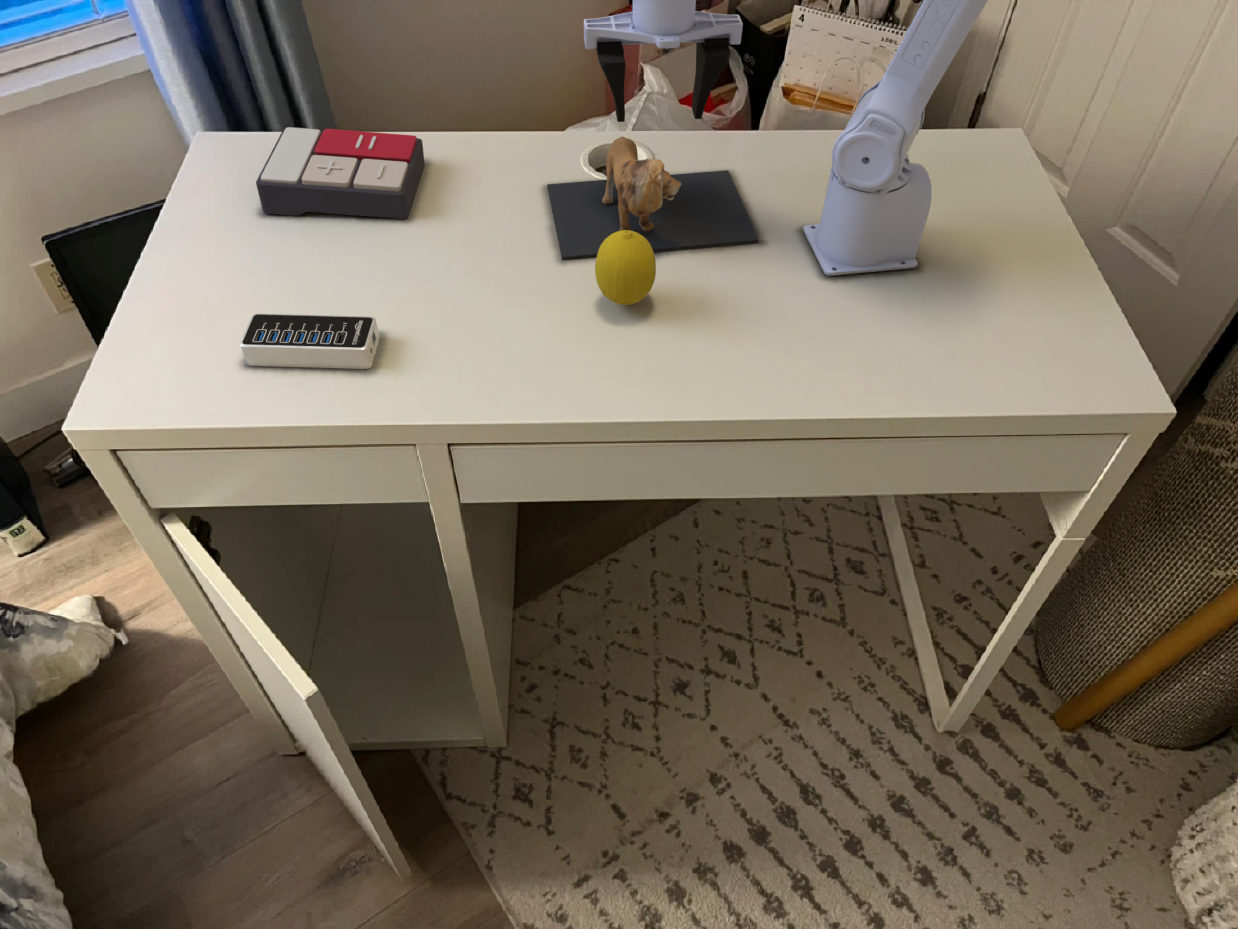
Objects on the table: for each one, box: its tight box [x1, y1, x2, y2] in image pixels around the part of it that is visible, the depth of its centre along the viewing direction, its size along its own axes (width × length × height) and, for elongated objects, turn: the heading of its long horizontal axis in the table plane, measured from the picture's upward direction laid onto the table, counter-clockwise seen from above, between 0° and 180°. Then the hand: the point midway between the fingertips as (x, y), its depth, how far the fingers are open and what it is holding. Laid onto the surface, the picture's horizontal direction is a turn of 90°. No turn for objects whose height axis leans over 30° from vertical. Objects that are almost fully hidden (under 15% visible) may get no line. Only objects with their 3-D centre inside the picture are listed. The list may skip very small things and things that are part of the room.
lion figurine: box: [602, 136, 681, 231], centre depth 94 cm, size 15×5×9 cm, turn 22°
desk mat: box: [546, 169, 760, 261], centre depth 98 cm, size 20×13×1 cm, turn 99°
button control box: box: [255, 126, 425, 220], centre depth 99 cm, size 11×4×15 cm
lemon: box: [594, 230, 657, 306], centre depth 86 cm, size 6×6×8 cm
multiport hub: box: [239, 313, 381, 370], centre depth 83 cm, size 4×11×2 cm, turn 89°
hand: (658, 115), depth 93 cm, fingers open, 7 cm apart
